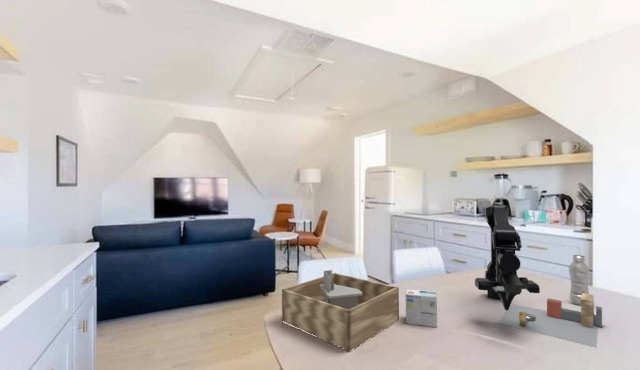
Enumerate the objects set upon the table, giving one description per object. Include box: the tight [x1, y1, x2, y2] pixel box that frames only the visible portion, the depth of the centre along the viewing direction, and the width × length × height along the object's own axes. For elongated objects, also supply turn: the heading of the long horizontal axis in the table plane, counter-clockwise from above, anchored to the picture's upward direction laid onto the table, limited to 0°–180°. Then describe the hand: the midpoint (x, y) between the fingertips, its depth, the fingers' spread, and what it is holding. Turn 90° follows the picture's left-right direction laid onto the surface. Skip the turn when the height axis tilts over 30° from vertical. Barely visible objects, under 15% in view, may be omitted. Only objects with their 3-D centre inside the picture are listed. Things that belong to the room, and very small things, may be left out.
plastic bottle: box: [568, 254, 590, 307], centre depth 127 cm, size 6×7×20 cm
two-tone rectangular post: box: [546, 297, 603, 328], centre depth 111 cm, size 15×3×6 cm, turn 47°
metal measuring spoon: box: [519, 312, 536, 326], centre depth 111 cm, size 5×11×4 cm, turn 137°
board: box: [497, 303, 599, 349], centre depth 110 cm, size 26×24×1 cm
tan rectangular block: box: [580, 293, 595, 328], centre depth 109 cm, size 3×8×9 cm, turn 137°
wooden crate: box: [281, 272, 400, 352], centre depth 114 cm, size 31×30×12 cm
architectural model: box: [320, 269, 362, 310], centre depth 114 cm, size 23×24×18 cm
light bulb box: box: [405, 288, 438, 328], centre depth 113 cm, size 11×7×11 cm, turn 71°
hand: (506, 310), depth 109 cm, fingers closed
